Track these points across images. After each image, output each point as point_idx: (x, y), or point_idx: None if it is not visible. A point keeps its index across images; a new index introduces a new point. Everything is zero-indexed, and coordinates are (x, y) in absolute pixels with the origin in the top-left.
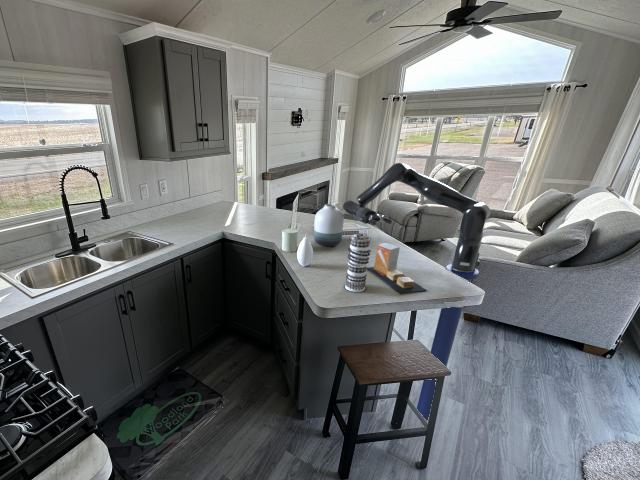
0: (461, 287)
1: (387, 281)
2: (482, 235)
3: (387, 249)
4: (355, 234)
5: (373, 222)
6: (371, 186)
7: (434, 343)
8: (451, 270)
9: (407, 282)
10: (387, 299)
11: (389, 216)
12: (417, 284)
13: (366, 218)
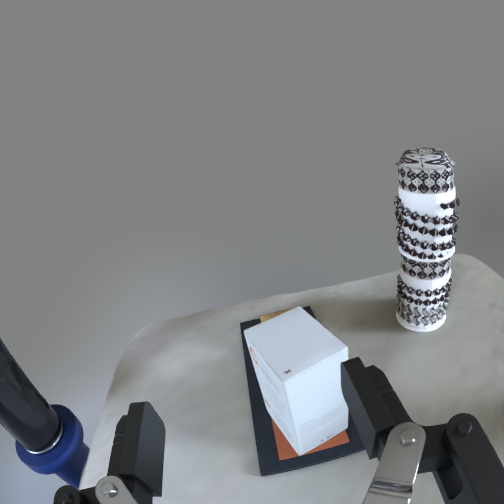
0: (148, 341)
1: None
2: None
3: (310, 316)
4: (441, 150)
5: (368, 373)
6: None
7: None
8: (69, 435)
9: (282, 311)
10: (348, 287)
11: (62, 497)
12: (243, 343)
13: (457, 452)
